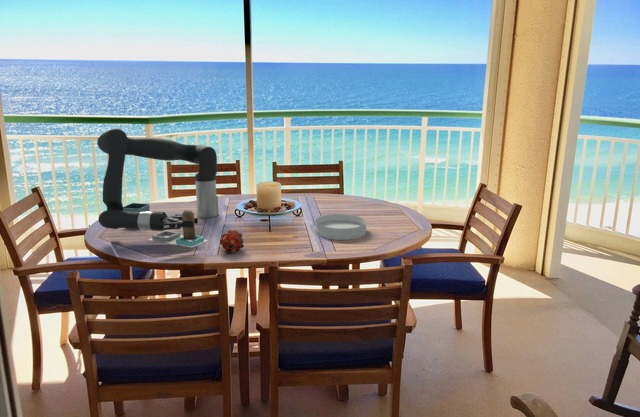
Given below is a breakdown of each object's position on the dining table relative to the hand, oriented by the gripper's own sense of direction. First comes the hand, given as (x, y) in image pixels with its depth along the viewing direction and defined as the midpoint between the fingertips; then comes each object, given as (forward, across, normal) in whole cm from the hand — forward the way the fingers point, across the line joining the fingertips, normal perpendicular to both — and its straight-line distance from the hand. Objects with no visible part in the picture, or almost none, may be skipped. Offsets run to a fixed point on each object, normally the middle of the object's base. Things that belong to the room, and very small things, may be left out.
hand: (195, 222), depth 189 cm
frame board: (-8, +2, +9) cm, 13 cm away
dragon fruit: (+16, -6, +9) cm, 19 cm away
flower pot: (-35, +24, +10) cm, 43 cm away
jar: (-3, 0, +6) cm, 7 cm away
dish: (+56, +23, +9) cm, 61 cm away
